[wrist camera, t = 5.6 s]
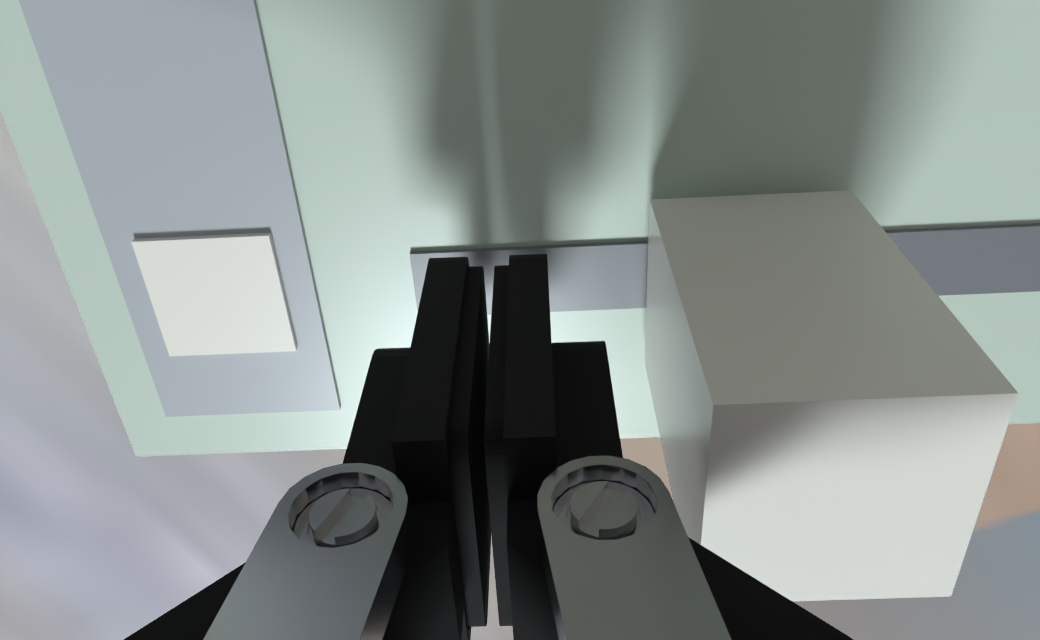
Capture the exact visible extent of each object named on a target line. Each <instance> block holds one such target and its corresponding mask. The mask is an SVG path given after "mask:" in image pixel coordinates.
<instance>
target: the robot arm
mask: <svg viewBox="0 0 1040 640" xmlns="http://www.w3.org/2000/svg"><path fill="white" fill-rule="evenodd" d="M491 533H492V545H493V556H494V568H495V579H496V591H497V602H498V614H499V624H500V626H513V636H514V640H853V639H851V638H850V637H849V636H847V635H845V634H844V633H842V632H840V631H839V630H837V629H835V628H834V627H833V626H831V625H829V624H828V623H826V622H824V621H823V620H821V619H819V618H818V617H816V616H815V615H813V614H811V613H810V612H808V611H807V610H805V609H803V608H802V607H800V606H799V605H797V604H795V603H794V602H792V601H791V600H789V599H787V598H786V597H784V596H783V595H781V594H779V593H778V592H776V591H774V590H773V589H771V588H770V587H768V586H766V585H765V584H763V583H762V582H760V581H758V580H757V579H755V578H754V577H752V576H750V575H749V574H747V573H745V572H744V571H742V570H741V569H739V568H737V567H736V566H734V565H733V564H731V563H729V562H728V561H726V560H724V559H723V558H721V557H720V556H718V555H716V554H715V553H713V552H712V551H710V550H708V549H707V548H705V547H704V546H702V545H700V544H699V543H697V542H695V541H694V540H692V539H691V538H689V537H688V536H687V533H686V531H685V529H684V526H683V524H682V522H681V519H680V517H679V514H678V512H677V510H676V507H675V505H674V503H673V500H672V498H671V496H670V493H669V491H668V489H667V488H666V486H665V485H664V483H663V482H662V480H661V479H660V478H659V477H658V476H657V475H656V474H654V473H653V472H652V471H650V470H649V469H648V468H647V467H645V466H643V465H640V464H638V463H636V462H633V461H631V460H629V459H624V458H623V456H622V449H621V442H620V436H619V429H618V422H617V415H616V409H615V402H614V395H613V388H612V382H611V375H610V368H609V361H608V355H607V348H606V343H605V341H588V342H558V343H552V342H551V322H550V302H549V282H548V261H547V254H528V255H509V265H500V266H495V267H494V281H493V297H492V313H491V328H490V344H489V331H488V318H487V305H486V292H485V279H484V269H483V266H472V267H470V266H469V259H468V257H446V258H429V260H428V264H427V269H426V274H425V279H424V284H423V289H422V294H421V298H420V303H419V308H418V313H417V318H416V323H415V328H414V332H413V337H412V342H411V347H409V348H379V349H376V350H374V352H373V355H372V357H371V361H370V365H369V368H368V372H367V376H366V380H365V383H364V387H363V391H362V394H361V398H360V402H359V405H358V409H357V413H356V416H355V420H354V424H353V428H352V431H351V435H350V439H349V442H348V446H347V450H346V453H345V457H344V461H343V464H339V465H335V466H331V467H327V468H323V469H321V470H319V471H316V472H314V473H312V474H310V475H308V476H306V477H304V478H303V479H301V480H300V481H299V482H298V483H296V484H295V485H294V486H292V487H291V488H290V489H289V490H288V491H287V493H286V494H285V495H284V496H283V498H282V499H281V500H280V502H279V503H278V505H277V507H276V509H275V510H274V512H273V514H272V516H271V518H270V519H269V521H268V523H267V525H266V527H265V528H264V530H263V532H262V534H261V536H260V538H259V539H258V541H257V543H256V545H255V547H254V548H253V550H252V552H251V554H250V556H249V558H248V559H247V561H246V563H244V564H243V565H241V566H239V567H238V568H236V569H235V570H233V571H231V572H230V573H228V574H227V575H225V576H224V577H222V578H220V579H219V580H217V581H216V582H214V583H213V584H211V585H209V586H208V587H206V588H205V589H203V590H201V591H200V592H198V593H197V594H195V595H194V596H192V597H190V598H189V599H187V600H186V601H184V602H182V603H181V604H179V605H178V606H176V607H175V608H173V609H171V610H170V611H168V612H167V613H165V614H164V615H162V616H160V617H159V618H157V619H156V620H154V621H152V622H151V623H149V624H148V625H146V626H145V627H143V628H141V629H140V630H138V631H137V632H135V633H134V634H132V635H130V636H129V637H127V638H126V639H124V640H470V636H471V627H473V626H486V625H487V614H488V591H489V569H490V547H491Z"/></svg>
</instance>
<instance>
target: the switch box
mask: <svg viewBox="0 0 1040 640" xmlns="http://www.w3.org/2000/svg"><path fill="white" fill-rule="evenodd" d="M0 111H1V113H2V116H3V118H4V121H5V123H6V126H7V129H8V131H9V134H10V136H11V139H12V141H13V144H14V146H15V149H16V152H17V154H18V157H19V159H20V162H21V164H22V167H23V169H24V172H25V175H26V177H27V180H28V182H29V185H30V187H31V190H32V192H33V195H34V198H35V200H36V203H37V205H38V208H39V210H40V213H41V215H42V218H43V221H44V223H45V226H46V228H47V231H48V233H49V236H50V238H51V241H52V244H53V246H54V249H55V251H56V254H57V256H58V259H59V261H60V264H61V267H62V269H63V272H64V274H65V277H66V279H67V282H68V284H69V287H70V290H71V292H72V295H73V297H74V300H75V302H76V305H77V307H78V310H79V313H80V315H81V318H82V320H83V323H84V325H85V328H86V330H87V333H88V336H89V338H90V341H91V343H92V346H93V348H94V351H95V353H96V356H97V359H98V361H99V364H100V366H101V369H102V371H103V374H104V376H105V379H106V381H107V384H108V387H109V389H110V392H111V394H112V397H113V399H114V402H115V404H116V407H117V410H118V412H119V415H120V417H121V420H122V422H123V425H124V427H125V430H126V433H127V435H128V438H129V440H130V443H131V445H132V448H133V450H134V453H135V456H136V457H137V456H164V455H191V454H218V453H244V452H271V451H298V450H325V449H347V446H348V442H349V439H350V435H351V431H352V428H353V424H354V420H355V416H356V413H357V409H358V405H359V402H360V398H361V394H362V391H363V387H364V383H365V380H366V376H367V372H368V368H369V365H370V361H371V357H372V355H373V352H374V350H376V349H379V348H409V347H411V342H412V337H413V332H414V328H415V323H416V318H417V313H418V308H419V303H420V298H421V294H422V289H423V284H424V279H425V274H426V269H427V264H428V260H429V258H446V257H468V259H469V266H470V267H472V266H483V269H484V279H485V292H486V305H487V318H488V331H489V344H490V328H491V313H492V297H493V281H494V267H495V266H500V265H509V255H528V254H547V261H548V282H549V302H550V322H551V342H552V343H558V342H588V341H605V343H606V348H607V355H608V361H609V368H610V375H611V382H612V388H613V395H614V402H615V409H616V415H617V422H618V429H619V436H620V439H621V438H647V437H660V434H659V430H658V425H657V420H656V415H655V411H654V406H653V401H652V396H651V392H650V387H649V382H648V377H647V373H646V368H645V363H644V357H645V327H646V297H647V267H648V237H649V207H650V200H651V199H673V198H694V197H716V196H738V195H759V194H781V193H803V192H824V191H846V190H851V191H852V192H853V193H854V194H855V196H856V197H857V198H858V199H859V200H860V202H861V203H862V204H863V205H864V207H865V208H866V209H867V210H868V211H869V213H870V214H871V215H872V216H873V217H874V219H875V220H876V221H877V222H878V224H879V225H880V226H881V227H882V228H883V230H884V231H885V232H886V233H887V234H888V236H889V237H890V238H891V239H892V241H893V242H894V243H895V244H896V245H897V247H898V248H899V249H900V250H901V251H902V253H903V254H904V255H905V256H906V257H907V259H908V260H909V261H910V262H911V264H912V265H913V266H914V267H915V268H916V270H917V271H918V272H919V273H920V274H921V276H922V277H923V278H924V279H925V281H926V282H927V283H928V284H929V285H930V287H931V288H932V289H933V290H934V291H935V293H936V294H937V295H938V296H939V297H940V299H941V300H942V301H943V302H944V304H945V305H946V306H947V307H948V308H949V310H950V311H951V312H952V313H953V314H954V316H955V317H956V318H957V319H958V321H959V322H960V323H961V324H962V325H963V327H964V328H965V329H966V330H967V331H968V333H969V334H970V335H971V336H972V338H973V339H974V340H975V341H976V342H977V344H978V345H979V346H980V347H981V348H982V350H983V351H984V352H985V353H986V354H987V356H988V357H989V358H990V359H991V361H992V362H993V363H994V364H995V365H996V367H997V368H998V369H999V370H1000V371H1001V373H1002V374H1003V375H1004V376H1005V378H1006V379H1007V380H1008V381H1009V382H1010V384H1011V385H1012V386H1013V387H1014V388H1015V390H1016V391H1017V392H1018V396H1017V399H1016V402H1015V405H1014V408H1013V411H1012V414H1011V417H1010V420H1009V423H1008V424H1024V423H1040V0H0Z"/></svg>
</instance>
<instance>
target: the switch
mask: <svg viewBox="0 0 1040 640" xmlns="http://www.w3.org/2000/svg"><path fill="white" fill-rule="evenodd" d="M644 363H645V368H646V373H647V377H648V382H649V387H650V392H651V396H652V401H653V406H654V411H655V415H656V420H657V425H658V430H659V434H660V439H661V444H662V448H663V453H664V458H665V463H666V467H667V472H668V477H669V482H670V486H671V491H672V496H673V501H674V505H675V507H676V510H677V512H678V514H679V517H680V519H681V522H682V524H683V526H684V529H685V531H686V533H687V536H688V537H689V538H691V539H692V540H694V541H695V542H697V543H699V544H700V545H702V546H704V547H705V548H707V549H708V550H710V551H712V552H713V553H715V554H716V555H718V556H720V557H721V558H723V559H724V560H726V561H728V562H729V563H731V564H733V565H734V566H736V567H737V568H739V569H741V570H742V571H744V572H745V573H747V574H749V575H750V576H752V577H754V578H755V579H757V580H758V581H760V582H762V583H763V584H765V585H766V586H768V587H770V588H771V589H773V590H774V591H776V592H778V593H779V594H781V595H783V596H784V597H786V598H787V599H789V600H791V601H813V600H814V601H815V600H846V599H880V598H913V597H945V596H951V595H952V592H953V589H954V586H955V583H956V580H957V577H958V574H959V571H960V568H961V564H962V562H963V559H964V556H965V552H966V550H967V547H968V544H969V541H970V538H971V535H972V532H973V529H974V526H975V523H976V520H977V517H978V514H979V511H980V508H981V505H982V502H983V499H984V496H985V493H986V490H987V487H988V484H989V481H990V478H991V475H992V472H993V469H994V466H995V463H996V460H997V456H998V453H999V450H1000V447H1001V444H1002V441H1003V438H1004V435H1005V432H1006V429H1007V426H1008V423H1009V420H1010V417H1011V414H1012V411H1013V408H1014V405H1015V402H1016V399H1017V396H1018V392H1017V391H1016V390H1015V388H1014V387H1013V386H1012V385H1011V384H1010V382H1009V381H1008V380H1007V379H1006V378H1005V376H1004V375H1003V374H1002V373H1001V371H1000V370H999V369H998V368H997V367H996V365H995V364H994V363H993V362H992V361H991V359H990V358H989V357H988V356H987V354H986V353H985V352H984V351H983V350H982V348H981V347H980V346H979V345H978V344H977V342H976V341H975V340H974V339H973V338H972V336H971V335H970V334H969V333H968V331H967V330H966V329H965V328H964V327H963V325H962V324H961V323H960V322H959V321H958V319H957V318H956V317H955V316H954V314H953V313H952V312H951V311H950V310H949V308H948V307H947V306H946V305H945V304H944V302H943V301H942V300H941V299H940V297H939V296H938V295H937V294H936V293H935V291H934V290H933V289H932V288H931V287H930V285H929V284H928V283H927V282H926V281H925V279H924V278H923V277H922V276H921V274H920V273H919V272H918V271H917V270H916V268H915V267H914V266H913V265H912V264H911V262H910V261H909V260H908V259H907V257H906V256H905V255H904V254H903V253H902V251H901V250H900V249H899V248H898V247H897V245H896V244H895V243H894V242H893V241H892V239H891V238H890V237H889V236H888V234H887V233H886V232H885V231H884V230H883V228H882V227H881V226H880V225H879V224H878V222H877V221H876V220H875V219H874V217H873V216H872V215H871V214H870V213H869V211H868V210H867V209H866V208H865V207H864V205H863V204H862V203H861V202H860V200H859V199H858V198H857V197H856V196H855V194H854V193H853V192H852V191H851V190H846V191H824V192H803V193H781V194H759V195H738V196H716V197H694V198H673V199H651V200H650V207H649V237H648V267H647V297H646V327H645V357H644Z"/></svg>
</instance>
